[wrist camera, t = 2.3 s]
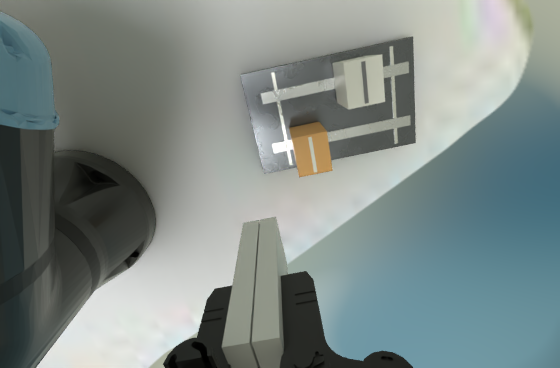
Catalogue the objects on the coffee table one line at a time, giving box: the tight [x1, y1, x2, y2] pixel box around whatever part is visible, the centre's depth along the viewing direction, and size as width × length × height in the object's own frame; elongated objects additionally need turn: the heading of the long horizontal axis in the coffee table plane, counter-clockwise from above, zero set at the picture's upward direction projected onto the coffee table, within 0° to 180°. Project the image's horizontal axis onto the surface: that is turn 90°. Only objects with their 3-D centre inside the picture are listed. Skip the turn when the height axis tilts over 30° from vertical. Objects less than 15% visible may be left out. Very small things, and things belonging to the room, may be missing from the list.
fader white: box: [332, 54, 385, 109], centre depth 25 cm, size 3×4×4 cm
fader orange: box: [289, 122, 333, 177], centre depth 27 cm, size 3×4×4 cm
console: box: [240, 37, 416, 174], centre depth 29 cm, size 16×10×2 cm, turn 102°
